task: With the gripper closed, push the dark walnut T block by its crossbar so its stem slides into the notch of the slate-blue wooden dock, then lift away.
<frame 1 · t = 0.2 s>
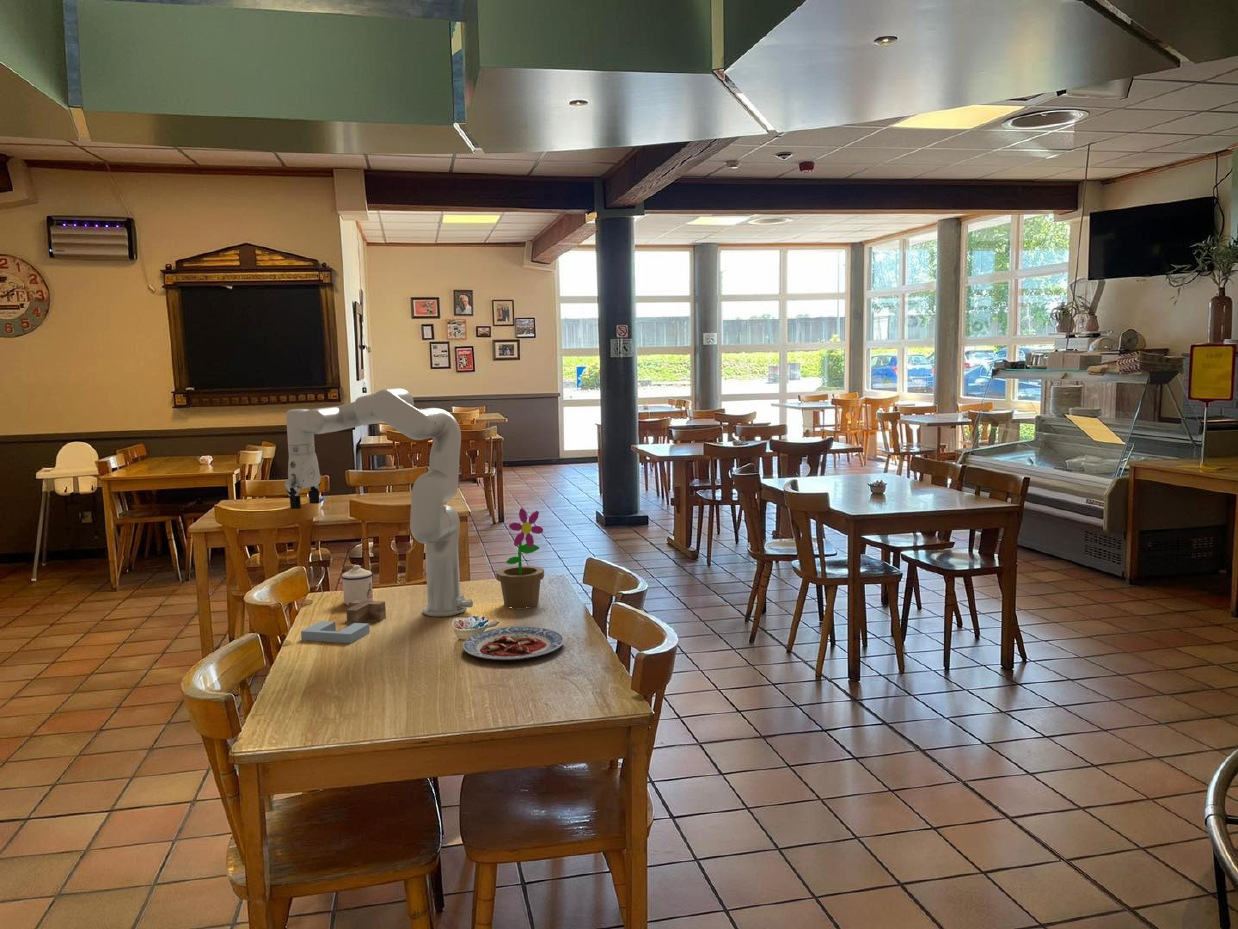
hand: (305, 506, 274), 31 cm above the table, tool pointing down, fingers open, 9 cm apart
teacup with lid: (358, 601, 281), on the table
flowerpot: (521, 605, 272), on the table
ceramic plate: (514, 650, 231), on the table
t block: (367, 618, 261), on the table
dock: (337, 635, 246), on the table
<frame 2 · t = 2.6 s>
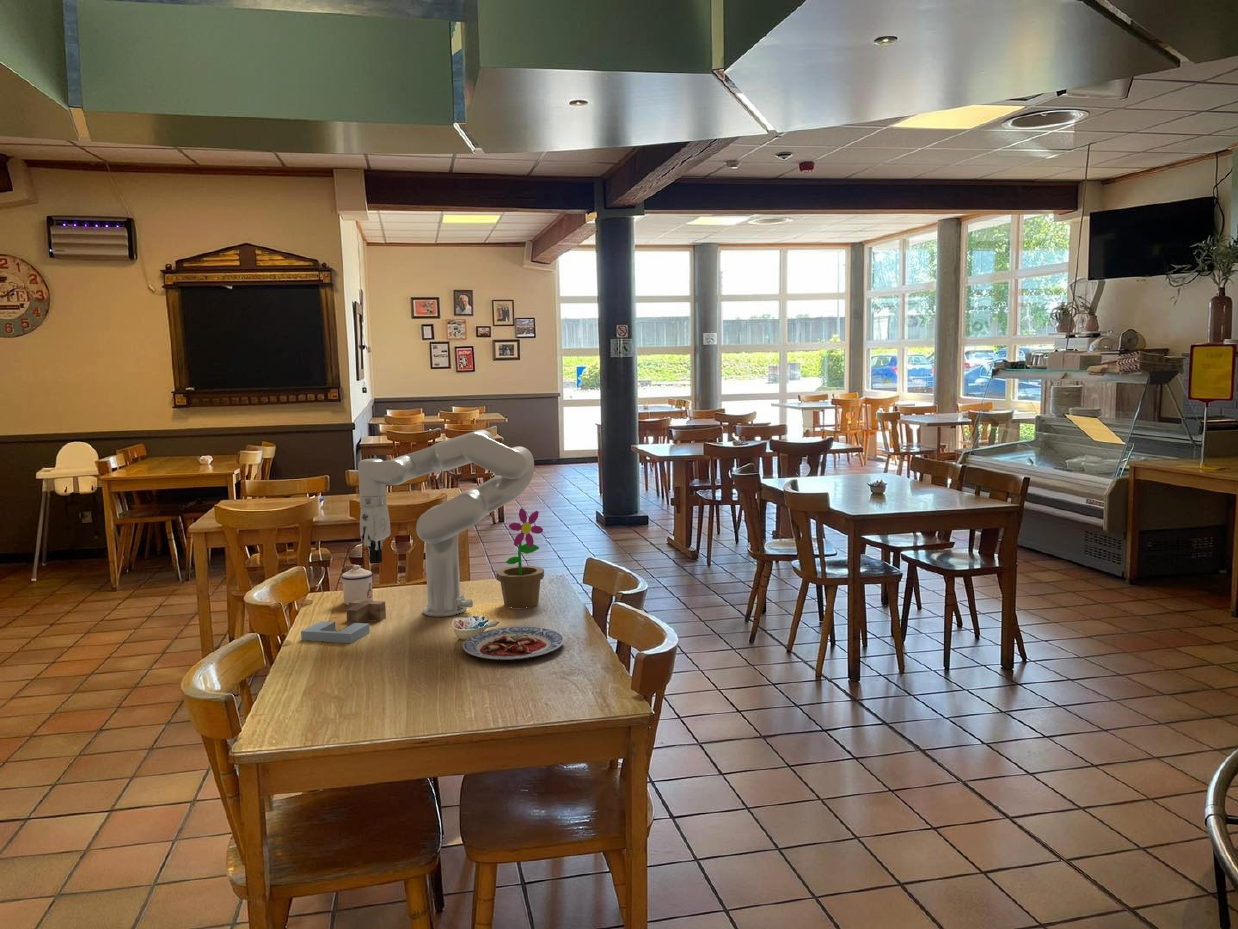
hand: (376, 562, 266), 15 cm above the table, tool pointing down, fingers closed
nothing on the table moved.
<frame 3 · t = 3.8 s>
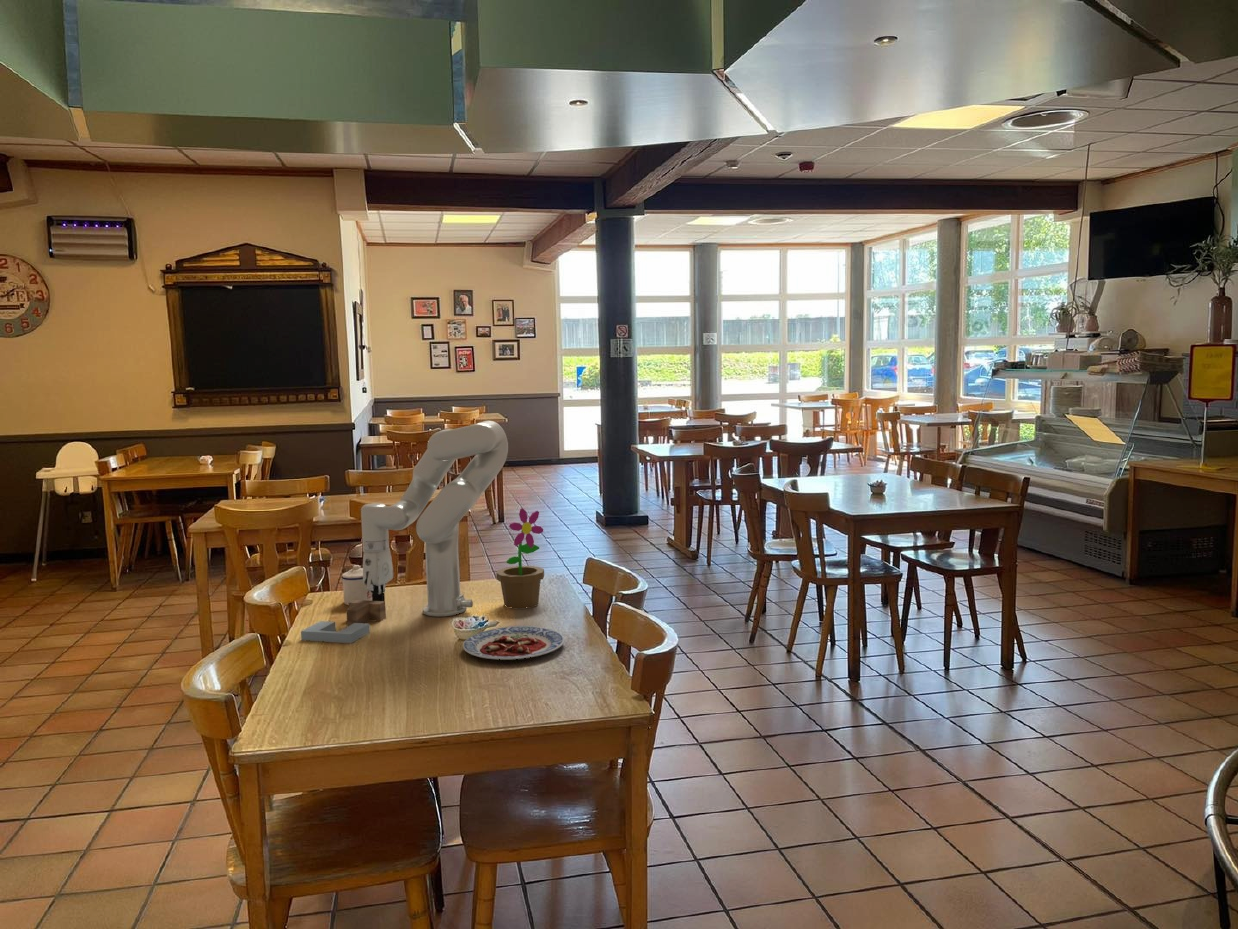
hand: (378, 606, 268), 2 cm above the table, tool pointing down, fingers closed
nothing on the table moved.
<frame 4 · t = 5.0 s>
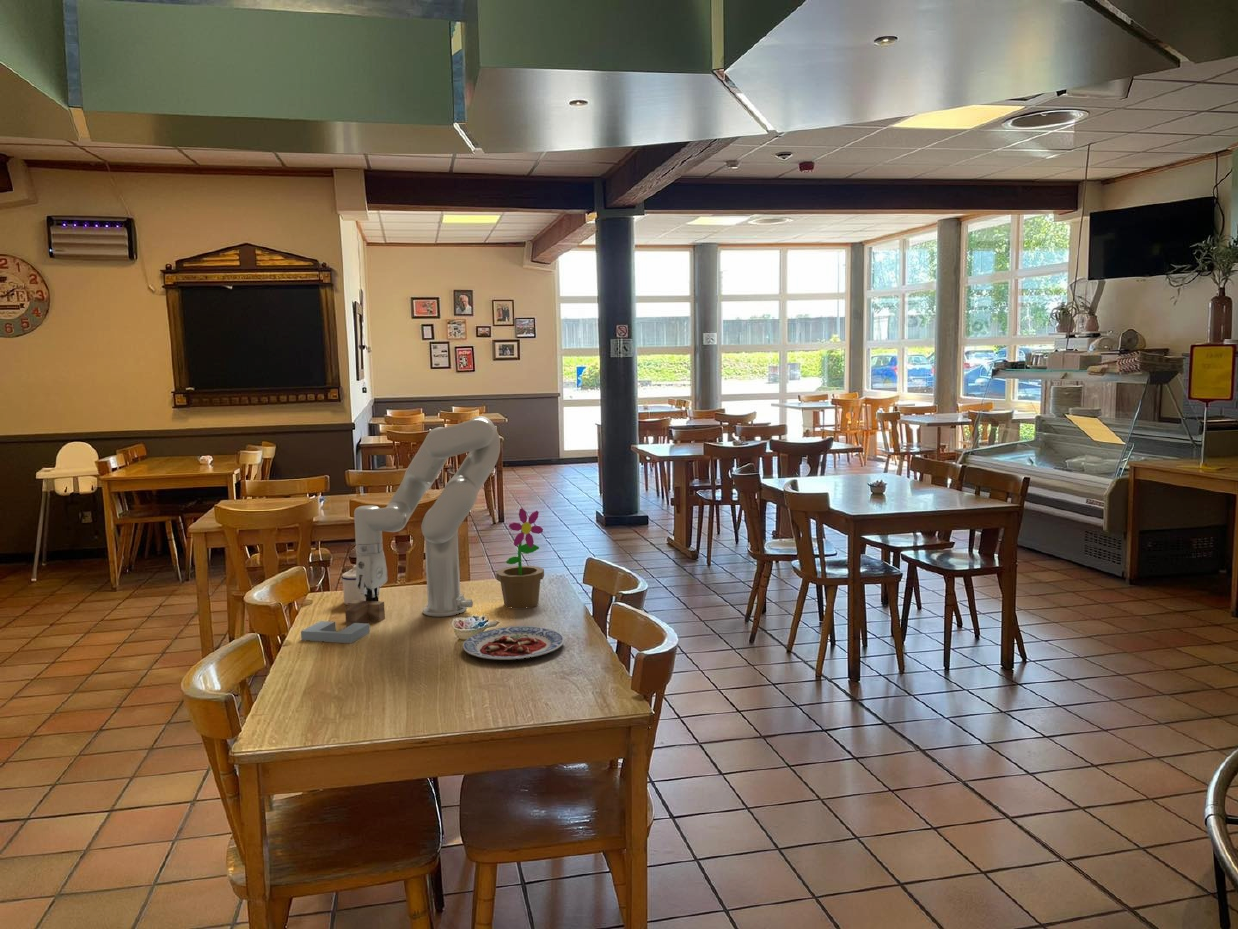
hand: (372, 609, 264), 2 cm above the table, tool pointing down, fingers closed
t block: (366, 619, 261), on the table, touching gripper
everything else where it was.
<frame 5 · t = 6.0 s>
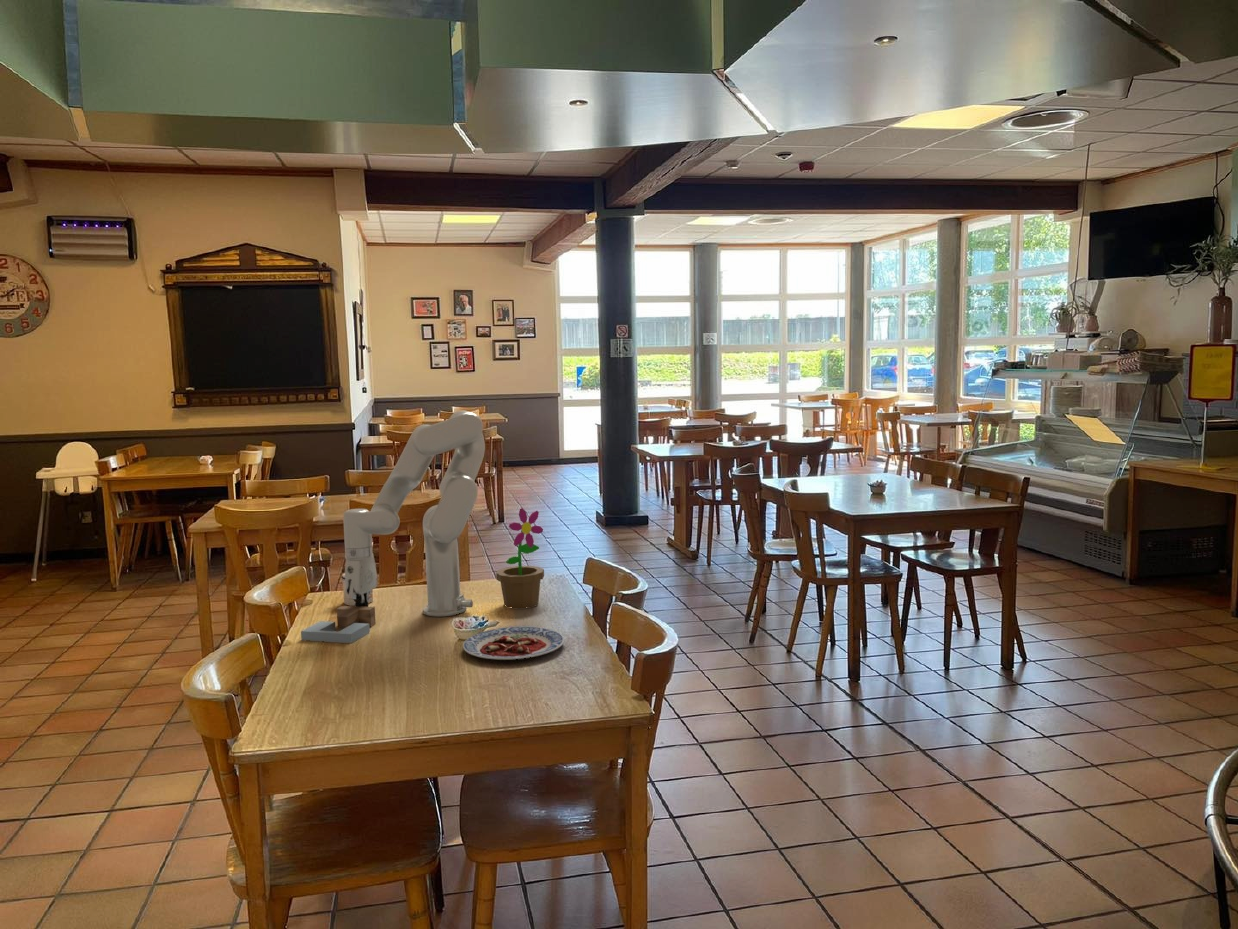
hand: (362, 615, 258), 2 cm above the table, tool pointing down, fingers closed
t block: (356, 625, 255), on the table, touching gripper
everything else where it was.
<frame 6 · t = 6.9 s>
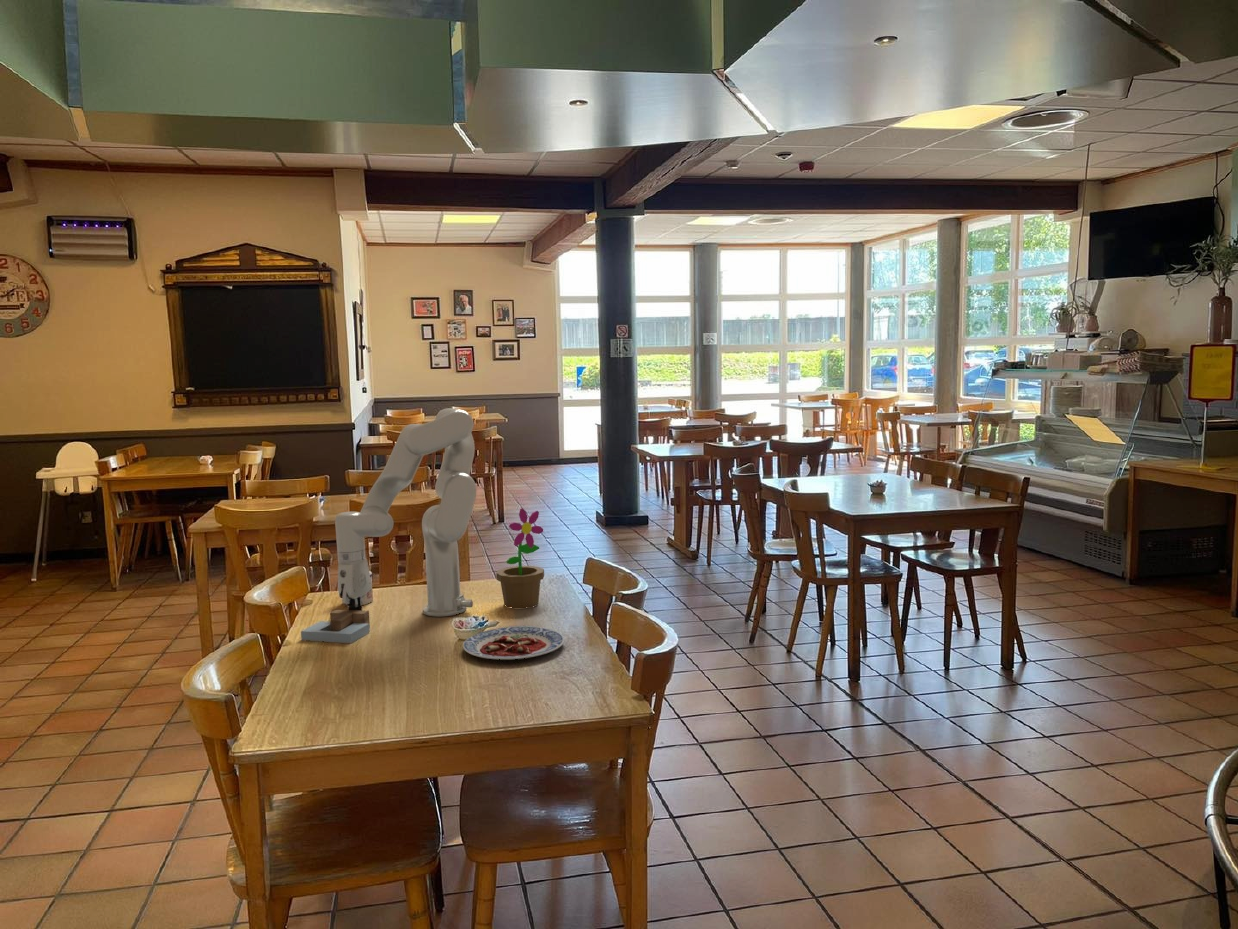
hand: (356, 619, 255), 2 cm above the table, tool pointing down, fingers closed
t block: (350, 629, 251), on the table, touching dock, gripper
everything else where it was.
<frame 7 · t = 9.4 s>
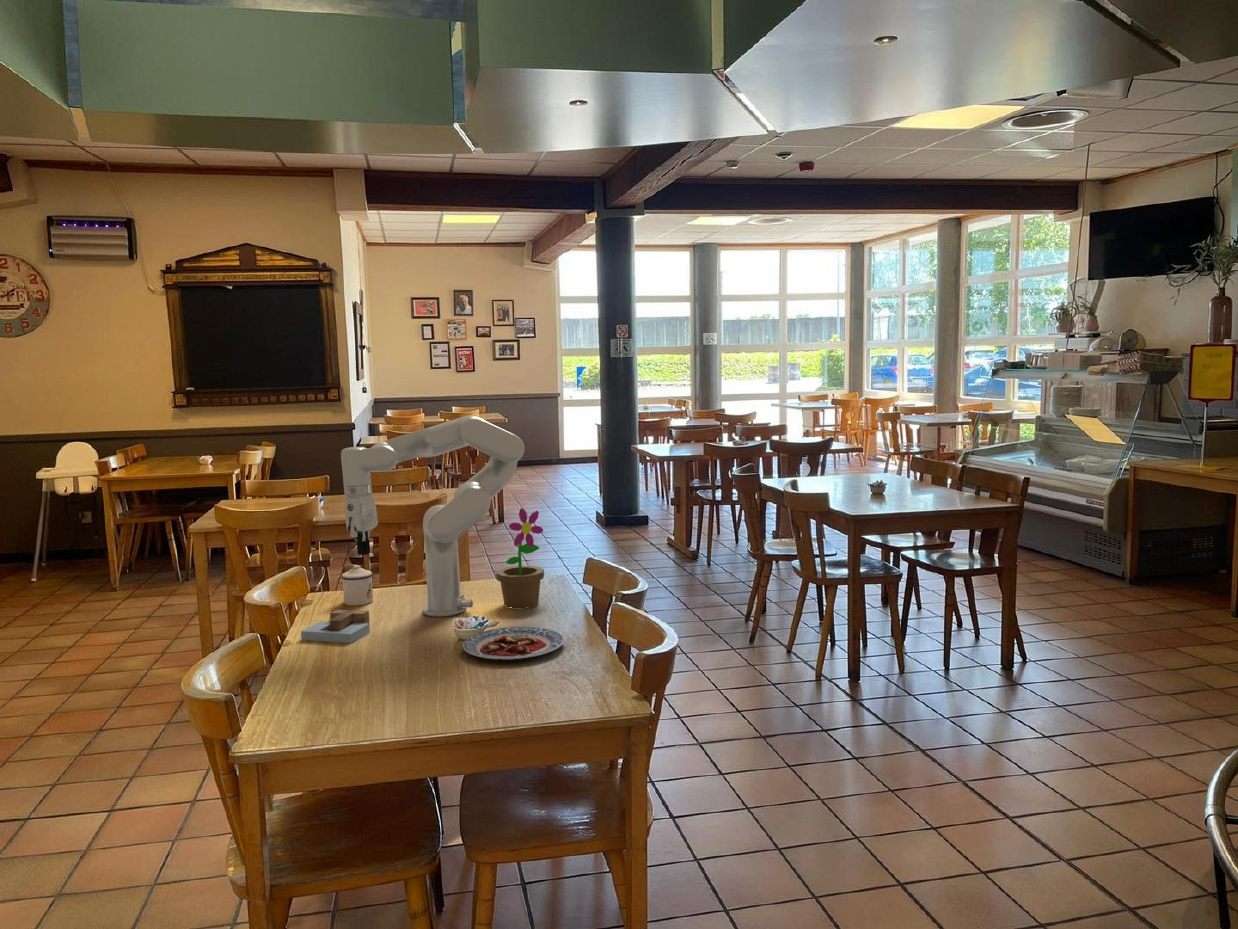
hand: (364, 554, 258), 19 cm above the table, tool pointing down, fingers closed
t block: (350, 629, 251), on the table
everything else where it was.
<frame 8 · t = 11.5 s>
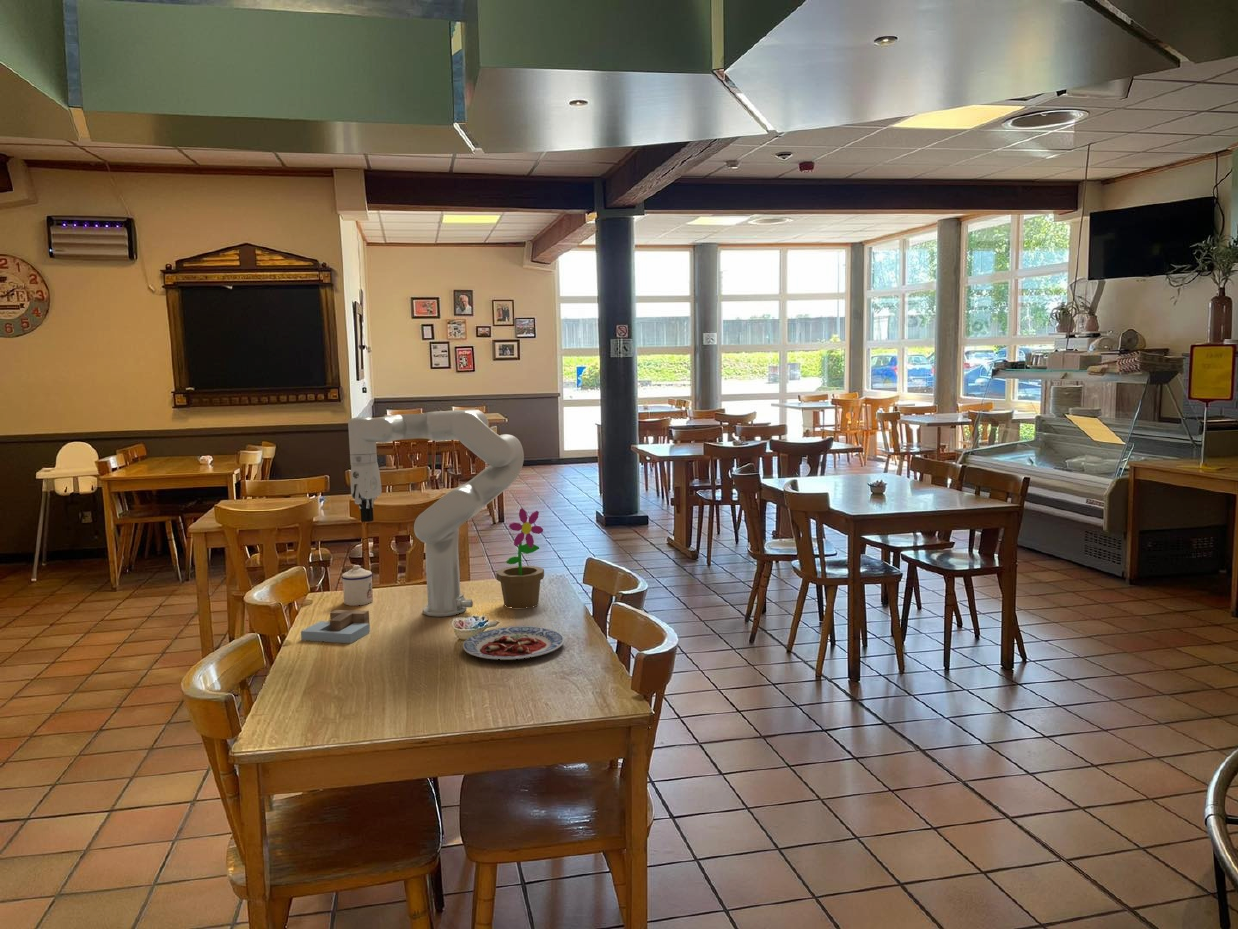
hand: (367, 521, 266), 27 cm above the table, tool pointing down, fingers closed
nothing on the table moved.
at the end: t block 0.5 cm from the target spot, on the table; t block tilted 0°; t block moved 10.1 cm from its start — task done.
